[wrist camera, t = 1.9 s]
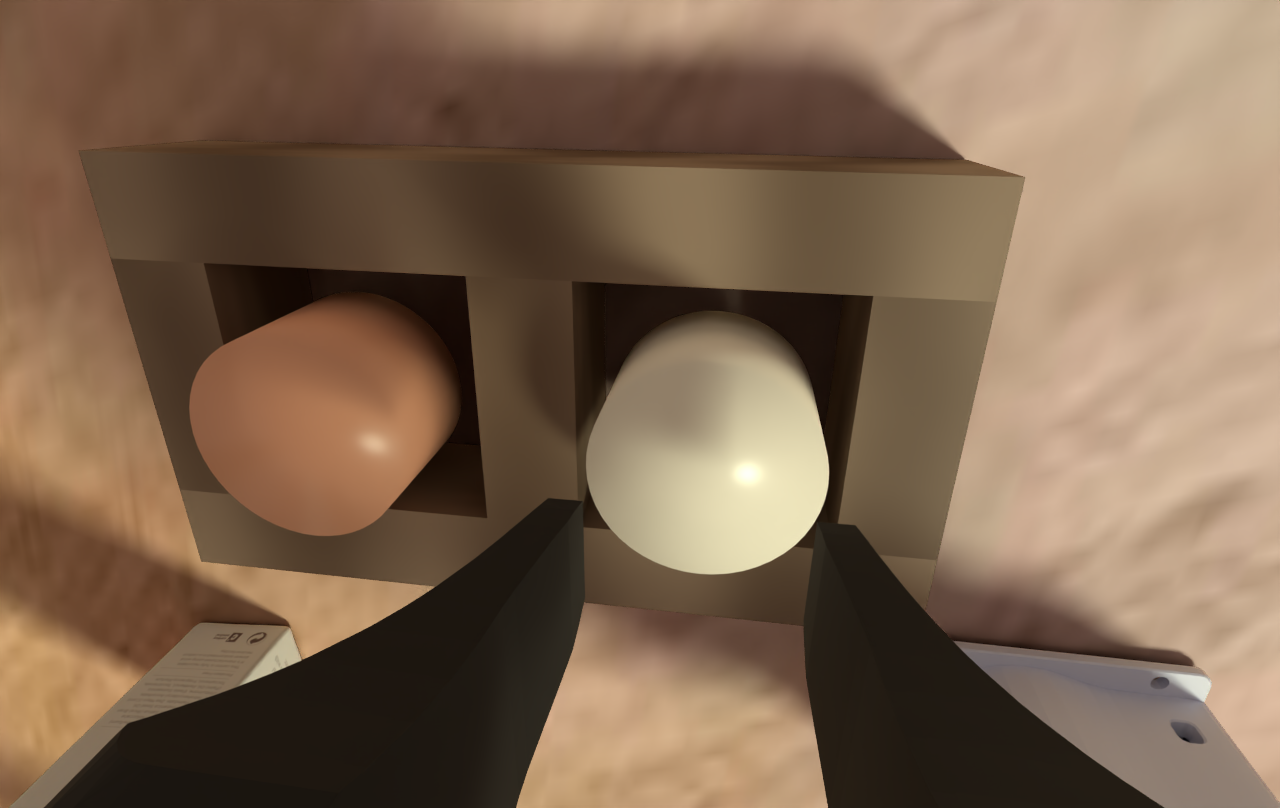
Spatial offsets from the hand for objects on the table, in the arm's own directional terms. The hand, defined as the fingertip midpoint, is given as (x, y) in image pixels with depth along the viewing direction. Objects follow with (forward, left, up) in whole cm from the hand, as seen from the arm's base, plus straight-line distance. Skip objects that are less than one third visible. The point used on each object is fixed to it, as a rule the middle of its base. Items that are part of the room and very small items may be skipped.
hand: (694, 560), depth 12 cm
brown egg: (+9, 0, -6) cm, 11 cm away
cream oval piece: (0, 0, -6) cm, 6 cm away
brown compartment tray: (+5, 0, -9) cm, 10 cm away
